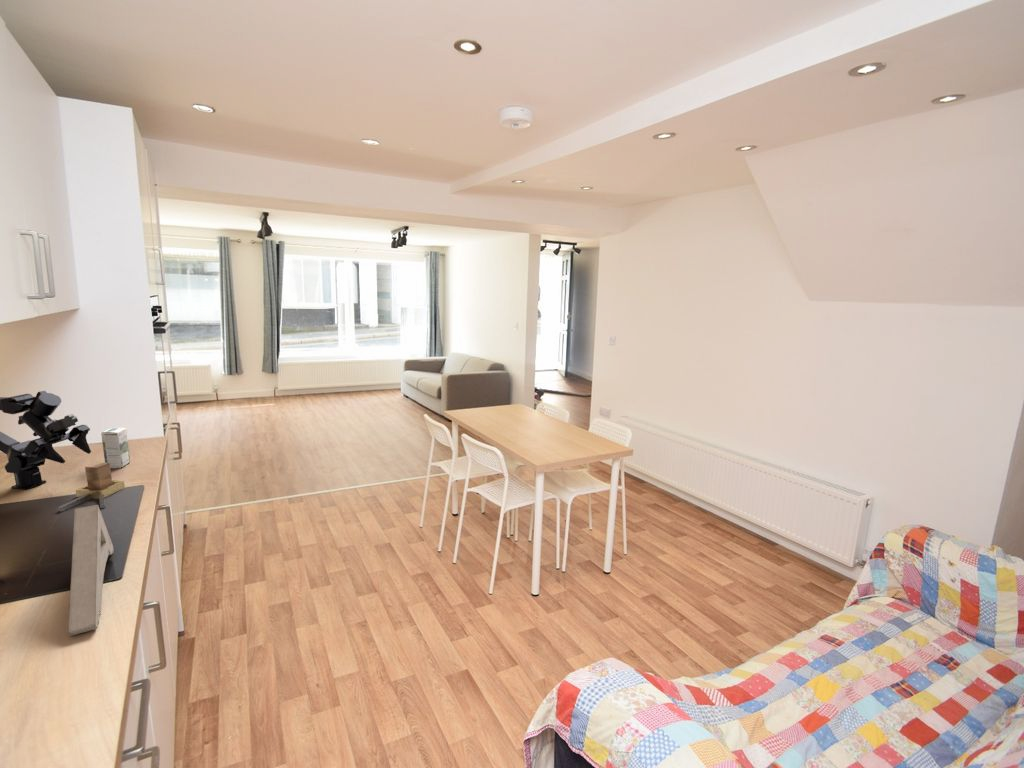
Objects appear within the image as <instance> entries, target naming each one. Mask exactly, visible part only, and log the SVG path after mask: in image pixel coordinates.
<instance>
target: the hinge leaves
mask: <svg viewBox="0 0 1024 768" xmlns="http://www.w3.org/2000/svg"><path fill="white" fill-rule="evenodd" d="M125 486H126V485H125V480H116V479H115V480H113V479H112V485H111V486H109V487H107V488H105V489H103V490H88V484H86V485H84V486H81V487H80V488H78V489H76V490H75V493H76V498H75V499H73V500H70V501H68V502H66V503H64V504H61V505H59V506H58V507H57V510H58V511H60V512H59V513H62V511H63V512H65V511H67V510H69V509H71V508H73V507H75V506H77V505H79V504H81V503H83V502H86V501H88V500H90V499H97V500H98V501H99V509H100V508H101V509H104V508H106V501H105V498H107V497H109V496H111V495H113V494H115V493H118V492H119V491H121V490H123V489H125V488H126V487H125ZM66 509H67V510H66ZM58 511H57V512H58Z"/></svg>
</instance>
